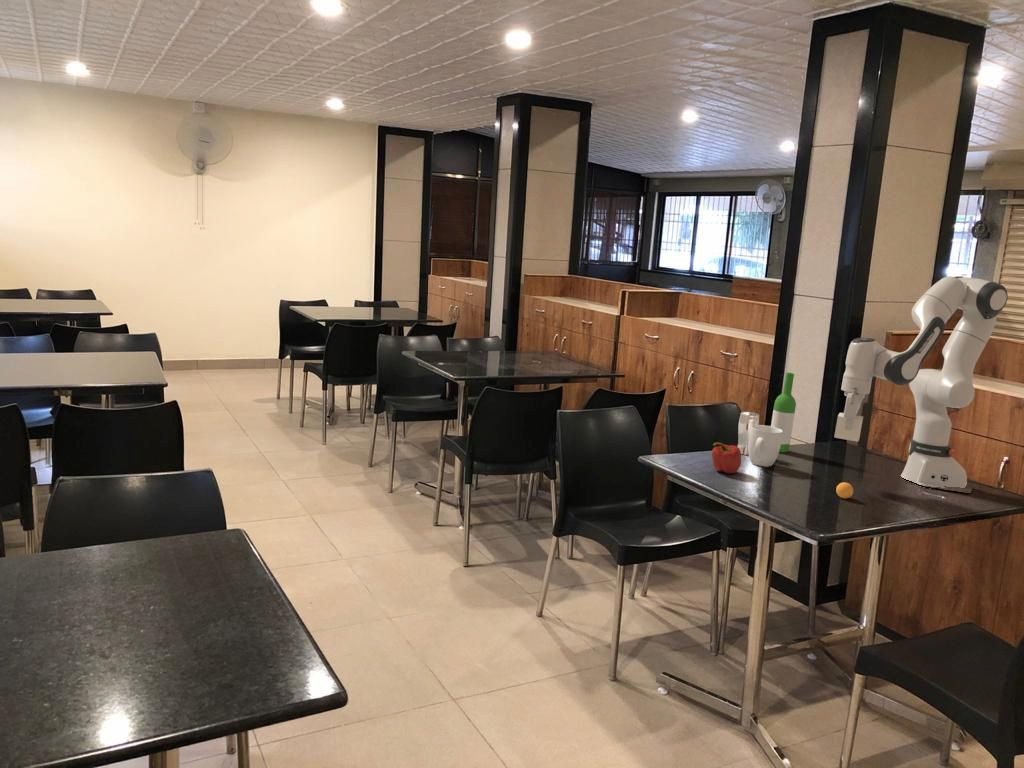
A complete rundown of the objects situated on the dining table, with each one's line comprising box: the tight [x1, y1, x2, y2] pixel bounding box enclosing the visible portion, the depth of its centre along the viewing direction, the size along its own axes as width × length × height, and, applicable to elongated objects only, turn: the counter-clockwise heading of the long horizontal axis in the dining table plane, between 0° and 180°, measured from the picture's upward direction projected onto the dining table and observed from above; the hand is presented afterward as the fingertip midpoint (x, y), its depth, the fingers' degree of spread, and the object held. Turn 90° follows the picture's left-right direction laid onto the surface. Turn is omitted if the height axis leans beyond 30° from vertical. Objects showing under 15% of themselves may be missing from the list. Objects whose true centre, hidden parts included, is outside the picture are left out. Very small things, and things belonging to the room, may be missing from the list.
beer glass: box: [736, 411, 760, 456], centre depth 302 cm, size 7×7×15 cm
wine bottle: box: [770, 372, 797, 454], centre depth 310 cm, size 8×8×30 cm
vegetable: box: [711, 441, 742, 474], centre depth 274 cm, size 11×10×10 cm
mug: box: [748, 424, 783, 468], centre depth 286 cm, size 15×11×13 cm
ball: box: [835, 482, 854, 499], centre depth 257 cm, size 5×5×5 cm
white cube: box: [833, 412, 864, 442], centre depth 272 cm, size 7×7×7 cm
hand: (848, 427), depth 272 cm, fingers closed on white cube, 7 cm apart
